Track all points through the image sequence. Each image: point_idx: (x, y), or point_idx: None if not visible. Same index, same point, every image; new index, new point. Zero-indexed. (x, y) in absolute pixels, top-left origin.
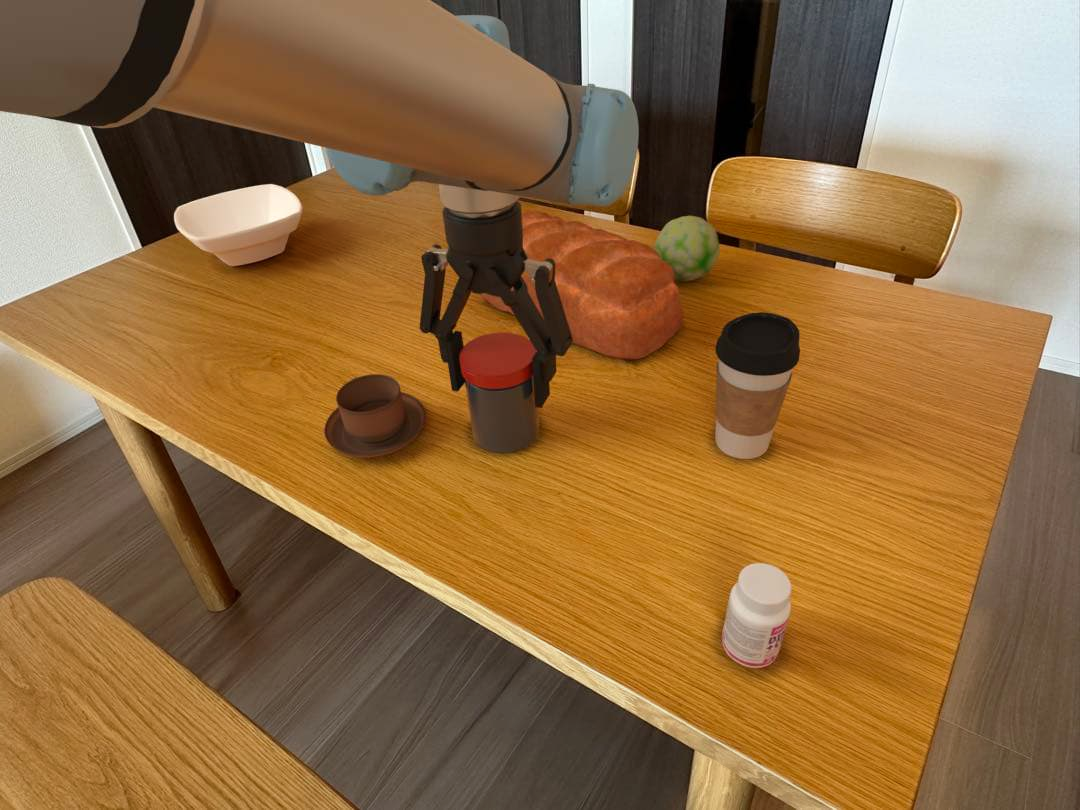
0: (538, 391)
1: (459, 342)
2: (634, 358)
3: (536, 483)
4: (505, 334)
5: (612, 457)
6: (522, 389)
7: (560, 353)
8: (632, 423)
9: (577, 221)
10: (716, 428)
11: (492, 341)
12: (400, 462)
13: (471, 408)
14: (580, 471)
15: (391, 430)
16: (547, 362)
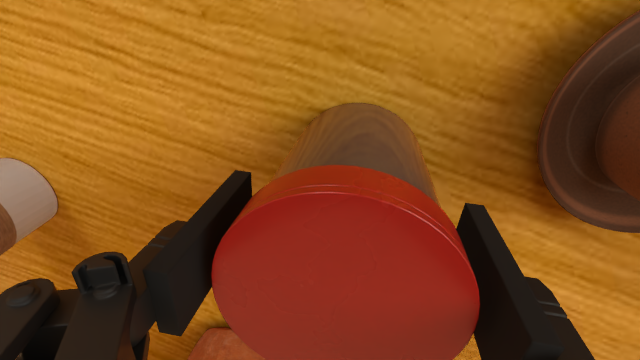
0: (219, 195)
1: (492, 352)
2: (212, 328)
3: (253, 32)
4: None
5: (160, 129)
6: None
7: (21, 286)
8: (167, 208)
9: None
10: (23, 197)
11: (373, 355)
12: (578, 24)
13: (414, 156)
14: (192, 84)
15: (637, 86)
16: (140, 265)
